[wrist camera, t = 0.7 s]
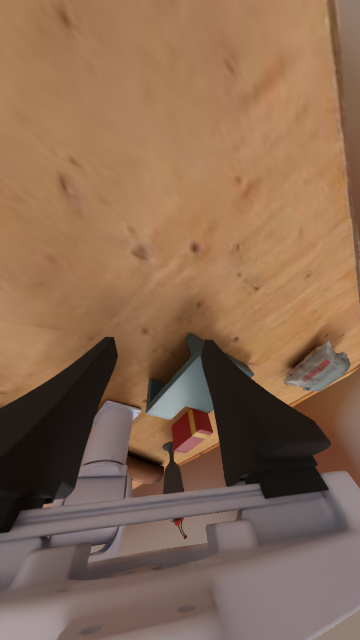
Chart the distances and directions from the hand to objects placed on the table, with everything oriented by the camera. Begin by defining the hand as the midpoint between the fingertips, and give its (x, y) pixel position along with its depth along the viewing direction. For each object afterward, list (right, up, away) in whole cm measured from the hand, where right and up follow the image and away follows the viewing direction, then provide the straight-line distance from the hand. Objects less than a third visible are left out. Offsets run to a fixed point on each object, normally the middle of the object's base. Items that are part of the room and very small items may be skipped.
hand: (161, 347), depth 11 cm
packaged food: (+30, -7, +20) cm, 37 cm away
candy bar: (+4, -23, +24) cm, 34 cm away
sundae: (-1, -36, +30) cm, 47 cm away
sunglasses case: (-12, -43, +31) cm, 54 cm away
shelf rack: (+6, -9, +17) cm, 20 cm away
